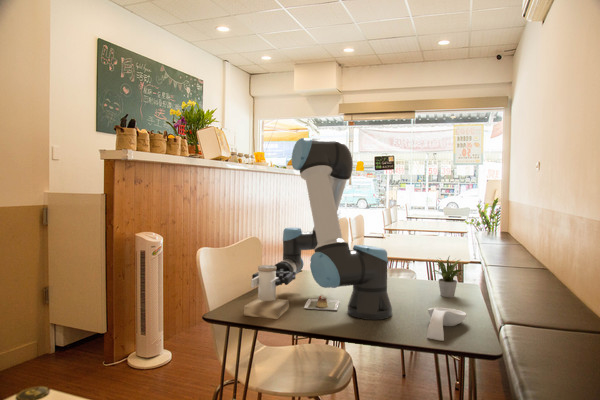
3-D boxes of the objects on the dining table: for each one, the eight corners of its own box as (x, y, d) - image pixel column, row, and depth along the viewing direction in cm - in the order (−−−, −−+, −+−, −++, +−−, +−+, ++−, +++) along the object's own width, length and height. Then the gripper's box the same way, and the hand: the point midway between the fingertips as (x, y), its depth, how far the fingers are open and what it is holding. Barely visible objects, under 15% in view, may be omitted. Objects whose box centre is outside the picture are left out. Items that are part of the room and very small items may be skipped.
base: (288, 308, 144) (289, 300, 144) (277, 319, 133) (277, 310, 133) (257, 305, 148) (257, 297, 147) (243, 315, 136) (243, 306, 136)
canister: (278, 296, 142) (279, 265, 142) (272, 301, 136) (272, 269, 136) (261, 295, 144) (262, 264, 144) (254, 300, 138) (255, 268, 138)
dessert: (308, 301, 155) (308, 289, 155) (339, 303, 153) (339, 290, 153) (303, 310, 144) (303, 297, 143) (337, 312, 142) (337, 299, 141)
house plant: (426, 299, 158) (427, 257, 158) (424, 290, 172) (425, 251, 171) (465, 301, 155) (466, 259, 154) (460, 292, 168) (461, 253, 168)
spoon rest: (431, 315, 139) (431, 294, 139) (468, 321, 133) (468, 299, 133) (415, 337, 118) (415, 313, 118) (458, 345, 113) (458, 319, 112)
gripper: (307, 282, 154) (288, 298, 132) (261, 278, 160) (235, 293, 138) (307, 262, 154) (288, 275, 132) (261, 259, 160) (235, 271, 137)
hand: (261, 284), depth 135 cm, fingers closed on canister, 6 cm apart
